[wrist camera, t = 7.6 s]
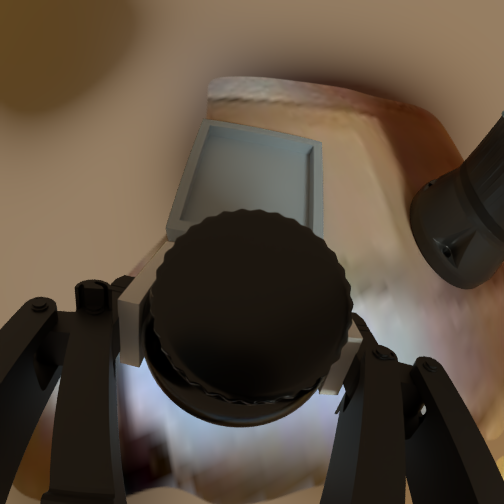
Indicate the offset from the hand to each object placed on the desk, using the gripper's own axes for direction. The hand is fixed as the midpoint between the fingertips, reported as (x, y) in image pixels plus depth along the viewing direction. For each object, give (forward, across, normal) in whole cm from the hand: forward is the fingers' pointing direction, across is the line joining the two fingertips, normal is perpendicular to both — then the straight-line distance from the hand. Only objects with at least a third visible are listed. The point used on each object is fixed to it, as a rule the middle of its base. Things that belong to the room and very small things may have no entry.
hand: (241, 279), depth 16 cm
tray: (+18, 0, +2) cm, 18 cm away
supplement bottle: (0, 0, -5) cm, 5 cm away
